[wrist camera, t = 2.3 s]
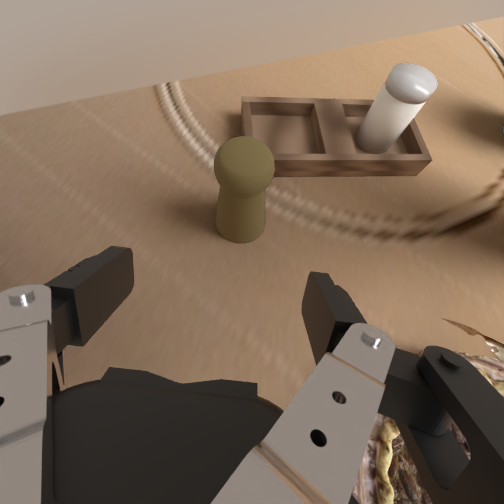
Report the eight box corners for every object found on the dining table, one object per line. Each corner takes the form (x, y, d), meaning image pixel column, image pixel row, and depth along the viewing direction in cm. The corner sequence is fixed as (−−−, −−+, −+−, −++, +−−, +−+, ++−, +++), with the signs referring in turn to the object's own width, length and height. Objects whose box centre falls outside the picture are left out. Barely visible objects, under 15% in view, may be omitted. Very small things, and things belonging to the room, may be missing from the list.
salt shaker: (385, 126, 36) (428, 63, 28) (395, 154, 34) (444, 94, 27) (351, 126, 36) (385, 62, 28) (359, 154, 34) (399, 93, 26)
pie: (581, 873, 15) (734, 1101, 10) (227, 529, 20) (226, 581, 15) (615, 425, 25) (702, 441, 20) (373, 268, 30) (398, 252, 25)
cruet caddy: (393, 118, 39) (406, 100, 36) (416, 175, 35) (432, 160, 32) (241, 115, 36) (241, 96, 34) (245, 176, 32) (247, 160, 29)
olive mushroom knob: (212, 202, 30) (203, 126, 20) (260, 196, 31) (274, 121, 21) (218, 246, 28) (211, 187, 18) (270, 239, 29) (291, 178, 19)
